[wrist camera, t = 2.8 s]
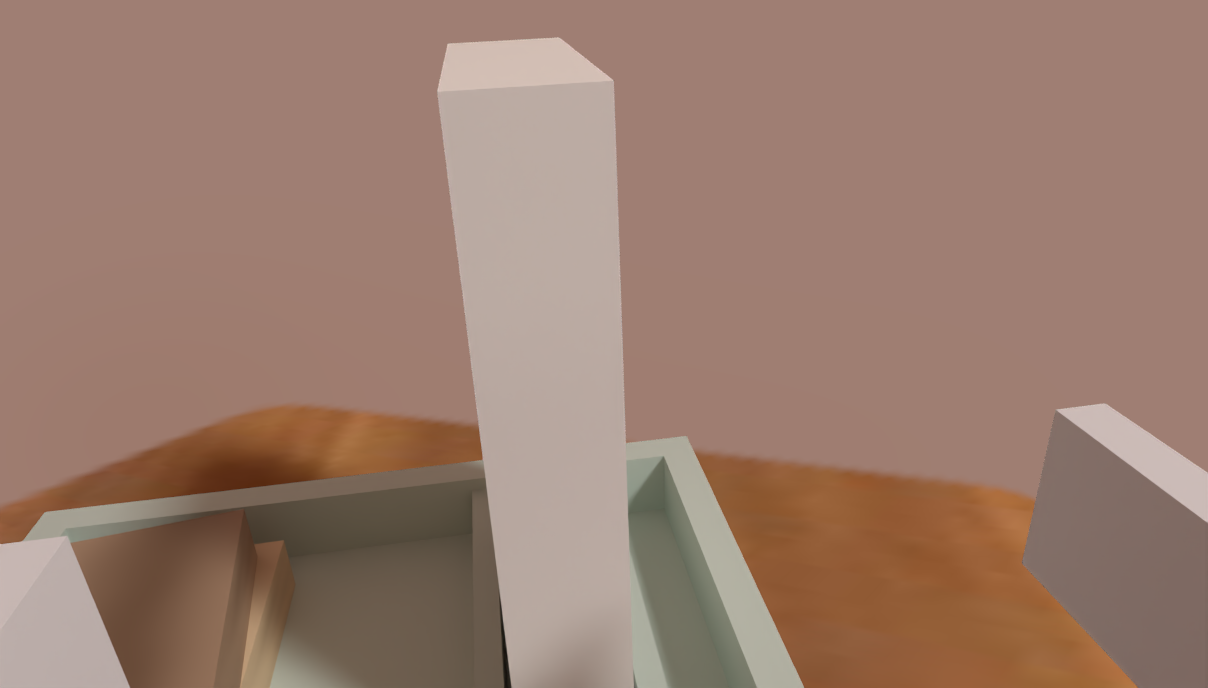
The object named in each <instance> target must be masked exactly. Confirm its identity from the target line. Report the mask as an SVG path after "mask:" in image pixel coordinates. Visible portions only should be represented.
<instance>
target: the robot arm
mask: <svg viewBox="0 0 1208 688" xmlns="http://www.w3.org/2000/svg"><path fill="white" fill-rule="evenodd" d="M1022 564H1023V565H1024V566H1025V567H1026V568H1027V569H1028V570H1029V571H1030V572H1031V573H1032V574H1033V576H1034V577H1035V578H1036V579H1037V580H1038V581H1039V582H1040V583H1041V584H1042V585H1043V586H1044V587H1045V588H1046V589H1047V590H1048V592H1049V593H1050V594H1051V595H1052V596H1053V597H1054V598H1055V599H1056V600H1057V601H1058V602H1059V603H1060V604H1061V605H1062V606H1063V608H1064V609H1065V610H1066V611H1067V612H1068V613H1069V614H1070V615H1071V616H1072V617H1073V618H1074V619H1075V620H1076V621H1077V622H1078V624H1079V625H1080V626H1081V627H1082V628H1083V629H1084V630H1085V631H1086V632H1087V633H1088V634H1089V635H1090V636H1091V637H1092V638H1093V640H1094V641H1095V642H1096V643H1097V644H1098V645H1099V646H1100V647H1101V648H1102V649H1103V650H1104V651H1105V652H1106V653H1107V654H1108V656H1109V657H1110V658H1111V659H1112V660H1113V661H1114V662H1115V663H1116V664H1117V665H1118V666H1119V667H1120V668H1121V669H1122V670H1123V672H1124V673H1125V674H1126V675H1127V676H1128V677H1129V678H1130V679H1131V680H1132V681H1133V682H1134V683H1135V684H1136V685H1137V686H1138V688H1208V473H1207V472H1206V471H1204V470H1203V469H1201V468H1200V467H1198V466H1197V465H1195V464H1194V463H1192V462H1191V461H1189V460H1188V459H1186V458H1185V457H1183V456H1182V455H1180V454H1179V453H1177V452H1176V451H1175V450H1173V449H1172V448H1170V447H1169V446H1167V445H1166V444H1164V443H1163V442H1161V441H1160V440H1158V439H1157V438H1155V437H1154V436H1152V435H1151V434H1150V433H1148V432H1146V431H1145V430H1144V429H1142V428H1140V427H1139V426H1138V425H1136V424H1135V423H1133V422H1132V421H1130V420H1129V419H1127V418H1126V417H1124V416H1123V415H1121V414H1120V413H1118V412H1117V411H1116V410H1114V409H1113V408H1111V407H1110V406H1108V405H1107V404H1097V405H1089V406H1081V407H1073V408H1066V409H1058V410H1056V411H1055V415H1054V420H1053V424H1052V429H1051V433H1050V438H1049V442H1048V447H1047V451H1046V456H1045V461H1044V466H1043V470H1042V474H1041V479H1040V483H1039V488H1038V492H1037V497H1036V501H1035V506H1034V510H1033V515H1032V519H1031V524H1030V529H1029V533H1028V538H1027V542H1026V547H1025V551H1024V556H1023V560H1022ZM0 688H130V686H129V684H128V682H127V679H126V677H125V674H124V672H123V669H122V667H121V665H120V662H119V660H118V657H117V655H116V653H115V650H114V648H113V645H112V643H111V640H110V638H109V636H108V633H107V631H106V628H105V626H104V624H103V621H102V619H101V616H100V614H99V611H98V609H97V607H96V604H95V602H94V599H93V597H92V595H91V592H90V590H89V587H88V585H87V583H86V580H85V578H84V575H83V573H82V570H81V568H80V566H79V563H78V561H77V558H76V556H75V554H74V551H73V549H72V546H71V544H70V541H69V539H68V537H67V536H62V537H54V538H47V539H39V540H31V541H23V542H15V543H7V544H0Z"/></svg>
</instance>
